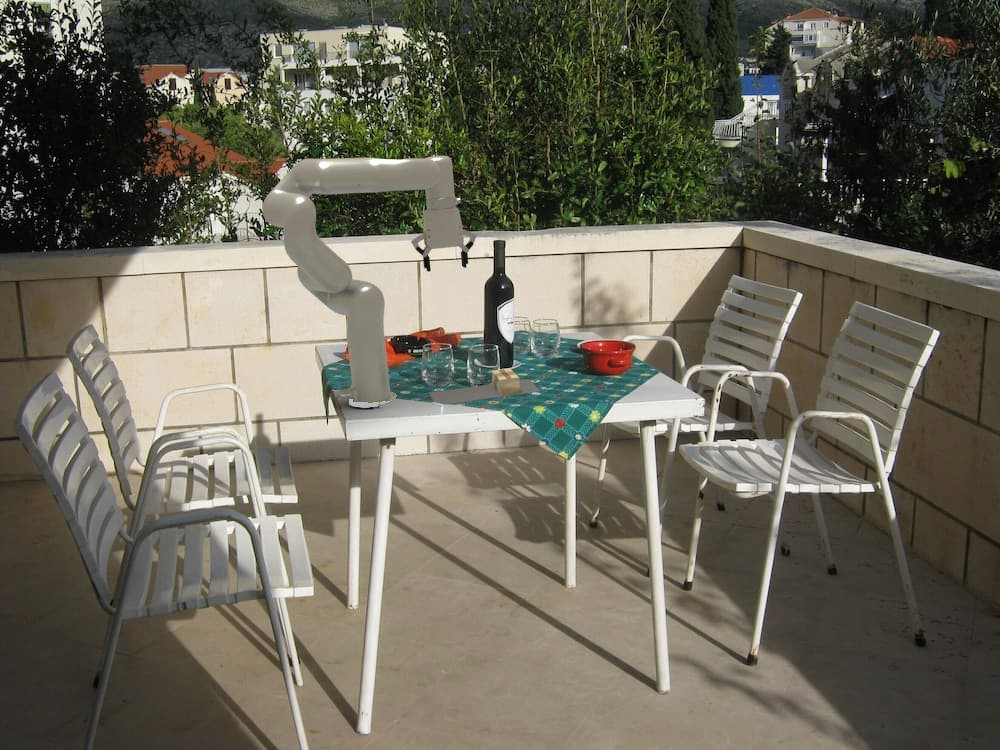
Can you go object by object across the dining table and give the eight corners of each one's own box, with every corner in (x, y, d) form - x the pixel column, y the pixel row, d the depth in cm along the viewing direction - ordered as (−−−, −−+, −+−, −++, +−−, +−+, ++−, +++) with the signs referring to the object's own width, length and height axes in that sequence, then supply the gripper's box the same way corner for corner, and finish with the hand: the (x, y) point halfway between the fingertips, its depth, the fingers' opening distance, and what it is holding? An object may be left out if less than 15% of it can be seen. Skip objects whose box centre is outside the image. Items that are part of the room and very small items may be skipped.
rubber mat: (436, 407, 268) (436, 405, 268) (428, 394, 279) (428, 392, 279) (540, 393, 273) (540, 391, 273) (528, 381, 285) (528, 379, 285)
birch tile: (492, 385, 282) (491, 370, 281) (511, 382, 283) (510, 367, 282) (501, 395, 272) (500, 379, 271) (520, 392, 273) (519, 377, 272)
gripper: (470, 199, 286) (475, 263, 290) (406, 206, 283) (412, 270, 287) (476, 202, 279) (481, 267, 283) (410, 208, 275) (416, 274, 280)
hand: (446, 268), depth 285 cm, fingers open, 9 cm apart
